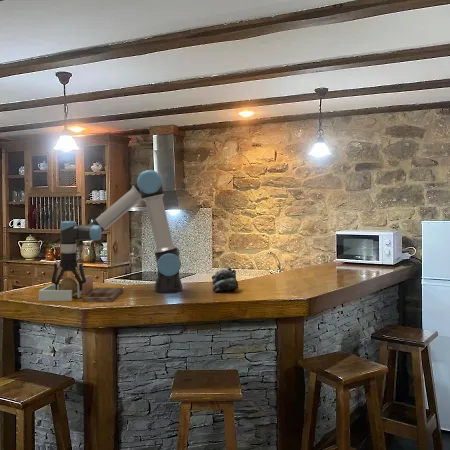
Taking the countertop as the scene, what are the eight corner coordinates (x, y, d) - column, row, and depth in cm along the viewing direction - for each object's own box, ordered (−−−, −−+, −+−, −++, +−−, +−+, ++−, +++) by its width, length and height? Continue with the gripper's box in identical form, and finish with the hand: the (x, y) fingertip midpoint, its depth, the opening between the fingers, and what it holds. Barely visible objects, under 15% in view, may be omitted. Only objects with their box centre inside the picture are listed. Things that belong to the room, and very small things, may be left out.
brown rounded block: (94, 291, 253) (94, 275, 253) (91, 294, 247) (91, 276, 246) (82, 291, 253) (82, 275, 253) (78, 294, 247) (78, 276, 246)
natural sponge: (81, 296, 242) (81, 276, 241) (74, 299, 233) (73, 279, 232) (64, 295, 243) (64, 276, 242) (56, 299, 234) (56, 279, 233)
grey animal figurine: (208, 292, 251) (205, 268, 257) (217, 297, 262) (214, 273, 268) (234, 286, 247) (231, 261, 253) (243, 291, 257) (239, 267, 263)
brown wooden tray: (122, 291, 254) (122, 287, 254) (112, 301, 228) (112, 297, 228) (96, 291, 254) (96, 287, 254) (82, 301, 228) (82, 297, 228)
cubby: (80, 294, 246) (80, 284, 246) (71, 301, 230) (71, 290, 230) (50, 294, 246) (50, 284, 245) (38, 301, 230) (38, 290, 229)
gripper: (92, 251, 241) (93, 295, 242) (48, 251, 240) (49, 295, 241) (88, 253, 233) (89, 298, 234) (43, 253, 233) (44, 298, 234)
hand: (69, 297), depth 238 cm, fingers closed on natural sponge, 9 cm apart
